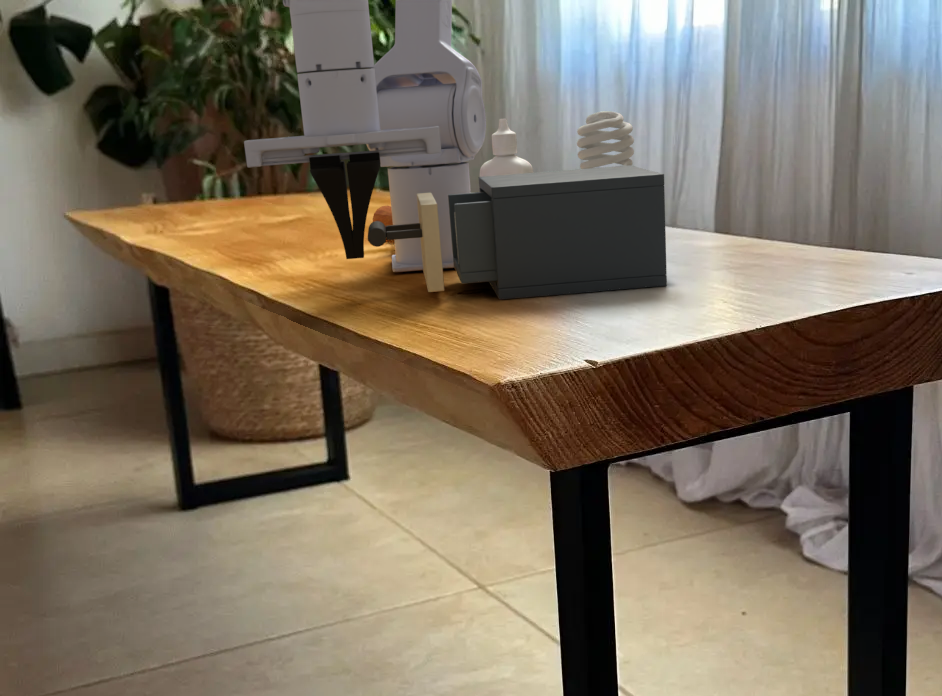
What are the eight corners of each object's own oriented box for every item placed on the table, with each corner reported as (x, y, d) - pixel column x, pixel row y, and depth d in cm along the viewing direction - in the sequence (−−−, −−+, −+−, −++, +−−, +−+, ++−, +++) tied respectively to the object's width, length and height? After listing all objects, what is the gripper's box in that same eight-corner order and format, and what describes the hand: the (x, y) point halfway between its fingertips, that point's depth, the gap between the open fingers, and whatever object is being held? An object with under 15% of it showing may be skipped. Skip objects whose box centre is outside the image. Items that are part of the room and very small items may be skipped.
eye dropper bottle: (519, 238, 127) (511, 117, 123) (542, 243, 122) (535, 116, 118) (480, 243, 125) (471, 120, 121) (501, 248, 120) (493, 120, 116)
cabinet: (499, 299, 91) (491, 187, 88) (485, 276, 103) (478, 176, 100) (667, 285, 91) (664, 174, 89) (634, 264, 103) (630, 165, 101)
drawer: (372, 296, 90) (363, 209, 88) (373, 275, 101) (365, 197, 99) (582, 279, 91) (578, 192, 89) (561, 260, 102) (557, 182, 100)
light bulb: (648, 232, 124) (644, 108, 120) (611, 240, 120) (607, 111, 116) (606, 231, 128) (601, 110, 124) (569, 238, 124) (563, 114, 120)
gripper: (230, 77, 86) (255, 271, 91) (435, 63, 87) (451, 255, 92) (241, 79, 93) (264, 259, 97) (432, 65, 94) (446, 245, 98)
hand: (355, 257), depth 95 cm, fingers closed
